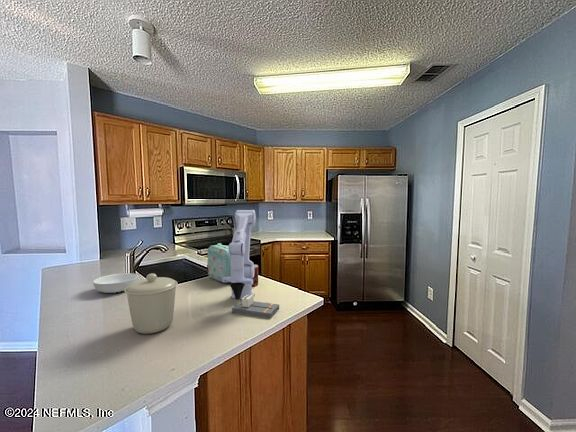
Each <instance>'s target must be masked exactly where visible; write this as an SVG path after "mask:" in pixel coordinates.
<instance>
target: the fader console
mask: <svg viewBox="0 0 576 432" xmlns="http://www.w3.org/2000/svg"><path fill="white" fill-rule="evenodd" d="M279 310H280V304H277V303H269V302H262V301H254V300H253V304H251V305H250V306H249V307H243V306H242V300H241V301H240V302H238V303H237V304H236V305H234V306H233V307H232V308H231V313H232V314H240V315H244V316H250V317H251V316H253V317H260V318H264V319H271V318H273V316H274V315H276V313H277V312H278V311H279Z"/></svg>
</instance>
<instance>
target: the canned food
mask: <svg viewBox="0 0 576 432" xmlns="http://www.w3.org/2000/svg"><path fill="white" fill-rule="evenodd" d="M258 285H259V265H258V264H254V277H253V284H252V288H253V287H257V286H258Z"/></svg>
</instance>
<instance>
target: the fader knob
mask: <svg viewBox="0 0 576 432" xmlns="http://www.w3.org/2000/svg"><path fill="white" fill-rule="evenodd" d="M241 301H242V306H243V307H249V306H250V305H251V304H253V301H254V296H253V295H251V294H249V295H246V296H245V297H243V298H242V299H241Z"/></svg>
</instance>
